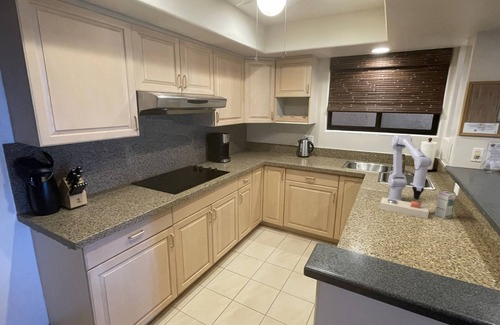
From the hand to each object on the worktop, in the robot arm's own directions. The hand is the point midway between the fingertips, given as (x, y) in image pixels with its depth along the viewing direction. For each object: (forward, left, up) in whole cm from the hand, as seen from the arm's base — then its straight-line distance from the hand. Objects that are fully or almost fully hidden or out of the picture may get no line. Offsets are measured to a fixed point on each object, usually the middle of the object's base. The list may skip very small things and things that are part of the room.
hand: (416, 199), depth 144 cm
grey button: (0, -12, -8) cm, 14 cm away
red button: (0, 0, -7) cm, 7 cm away
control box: (0, -6, -8) cm, 10 cm away
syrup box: (-4, +14, -9) cm, 17 cm away
